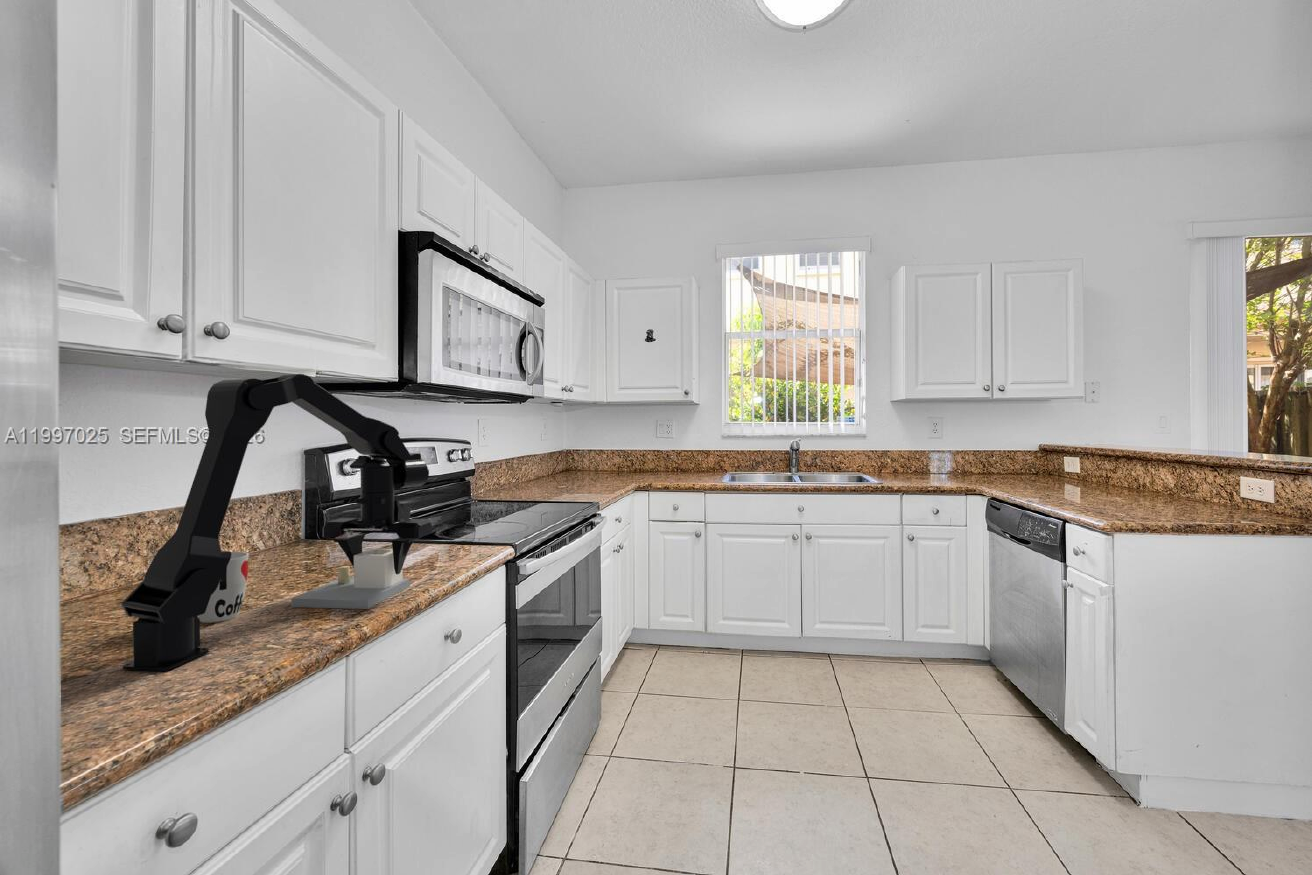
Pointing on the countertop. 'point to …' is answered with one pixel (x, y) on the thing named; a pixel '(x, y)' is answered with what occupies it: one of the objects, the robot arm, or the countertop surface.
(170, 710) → the countertop surface
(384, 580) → the block
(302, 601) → the plate
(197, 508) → the robot arm
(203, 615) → the cup
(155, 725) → the countertop surface
